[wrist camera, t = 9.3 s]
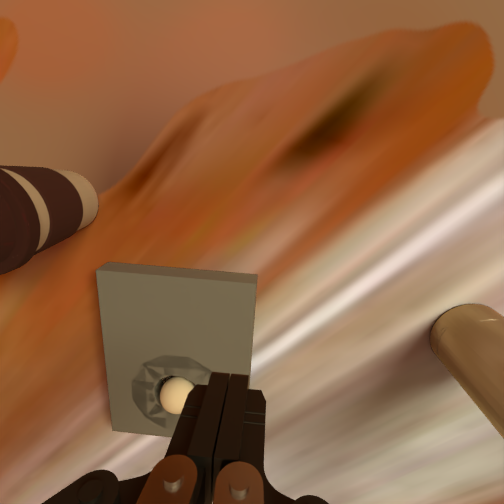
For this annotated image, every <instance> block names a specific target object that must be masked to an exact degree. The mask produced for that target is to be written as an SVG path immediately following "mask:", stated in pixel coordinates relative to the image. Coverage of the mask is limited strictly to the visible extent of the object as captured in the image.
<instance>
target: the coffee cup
mask: <svg viewBox="0 0 504 504" xmlns="http://www.w3.org/2000/svg"><path fill="white" fill-rule="evenodd" d="M97 211H98V198H97V194H96V192H95V190H94V188H93V186H92V185H91V184H90V183H89V181H88V180H87V179H85V178H84V177H83V176H81V175H80V174H77V173H75V172H72V171H68V170H52V169H48V168H43V167H23V166H0V275H1V274H5V273H7V272H10V271H12V270H14V269H17V268H19V267H21V266H22V265H24V264H25V263H27V262H28V261H29V260H30V259H31V258H32V257H33V255H35V254H37V253H39V252H41V251H43V250H45V249H47V248H49V247H51V246H53V245H55V244H57V243H59V242H60V241H62V240H64V239H66V238H68V237H70V236H71V235H73V234H74V233H75V232H76V231H78V230H80V229H82V228H84V227H85V226H87V225H89V224H90V223H91V222H92V221H93V220H94V218H95V217H96V215H97Z"/></svg>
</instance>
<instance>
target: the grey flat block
mask: <svg viewBox="0 0 504 504" xmlns="http://www.w3.org/2000/svg"><path fill="white" fill-rule="evenodd" d="M96 277H97V287H98V296H99V306H100V316H101V325H102V335H103V344H104V354H105V364H106V373H107V383H108V392H109V402H110V412H111V421H112V431H119V432H128V433H137V434H146V435H155V436H164V437H172V436H173V433H174V431H175V428H176V425H177V423H178V420H179V417H180V414H172V413H169V412H168V411H166V410H165V409H164V408H163V406H162V404H161V401H160V392H161V389H162V387H163V385H164V384H163V383H162V378H165V377H167V376H170V375H173V376H182V377H185V378H186V379H188V380H190V381H191V382H193V383H194V384H195V386H196V385H197V384H201V385H208V383H209V379H210V376H211V373H212V372H222V373H230V376H231V373H233V374H243V375H249V385H250V371H251V357H252V344H253V330H254V316H255V303H256V289H257V274H245V273H233V272H221V271H210V270H198V269H186V268H174V267H162V266H150V265H139V264H127V263H115V262H108V263H106V264H104V265H103V266H101V267H100V268H98V269H97V270H96ZM248 389H249V387H248Z"/></svg>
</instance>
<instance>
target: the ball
mask: <svg viewBox="0 0 504 504" xmlns="http://www.w3.org/2000/svg"><path fill="white" fill-rule="evenodd" d="M194 387H195V385H194V383H193V382H191V381H190V380H188V379H186V378H185V377H182V376H174V377H172V378H170V379H168V380H167V381H166V382H165V384H164V385H163V387H162V389H161V392H160V401H161V404H162V406H163V408H164V409H165V410H166V411H168V412H169V413H172V414H181V412H182V409H183V407H184V404H185V401H186V398H187V395H188V393H189V392H190V391H191V390H192V389H193V388H194Z"/></svg>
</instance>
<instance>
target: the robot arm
mask: <svg viewBox="0 0 504 504" xmlns="http://www.w3.org/2000/svg"><path fill="white" fill-rule="evenodd" d="M430 345H431V347H432V350H433V351H434V353H435V354H436V355H437V357H438V358H439V359H440V360H441V362H442V363H443V364H444V365H445V367H446V368H447V369H448V370H449V372H450V373H451V374H452V375H453V377H454V378H455V379H456V380H457V382H458V383H459V384H460V385H461V387H462V388H463V389H464V390H465V391H466V393H467V394H468V395H469V396H470V398H471V399H472V400H473V401H474V403H475V404H476V405H477V406H478V408H479V409H480V410H481V411H482V412H483V414H484V415H485V416H486V417H487V419H488V420H489V421H490V422H491V424H492V425H493V426H494V427H495V429H496V430H497V431H498V432H499V433H500V435H501V436H502V437H503V438H504V317H503V316H502V315H501V314H499V313H498V312H496V311H495V310H493V309H491V308H490V307H488V306H484V305H480V304H465V305H461V306H458V307H455V308H453V309H451V310H449V311H447V312H446V313H444V314H443V315H442V316H441V317H440V318H439V319H438V320H437V321H436V323H435V324H434V326H433V328H432V330H431V334H430ZM248 387H249V375H243V374H233V373H231V376H230V373H222V372H212V373H211V376H210V379H209V383H208V385H201V384H197V385H196V386H195V387H194V388H193V389H192V390H191V391H190V392H189V393H188V395H187V398H186V401H185V404H184V407H183V409H182V412H181V414H180V417H179V420H178V423H177V425H176V428H175V431H174V433H173V436H172V439H171V442H170V444H169V447H168V450H167V452H166V455H165V457H164V459H162V460H161V461H159V462H158V463H157V464H156V465H155V467H154V468H153V469H152V471H151V472H149V473H147V474H145V475H143V476H140V477H137V478H132V479H128V480H123V481H119V482H118V479H117V477H116V476H115V474H114V473H112V472H110V471H108V470H96V471H93V472H90V473H88V474H85V475H84V476H82V477H81V478H79V479H78V480H76V481H75V482H73V483H72V484H70V485H69V486H67V487H66V488H64V489H63V490H61V491H60V492H58V493H57V494H55V495H54V496H52V497H51V498H49V499H48V500H46V501H45V502H43V503H42V504H212V502H213V504H329V503H327V502H326V501H325V500H323V499H322V498H319V497H317V496H313V495H306V496H302V497H300V498H298V499H297V500H293V499H291V498H289V497H287V496H285V495H283V494H281V493H280V492H278V491H277V490H275V489H274V488H273V487H272V486H271V484H270V483H269V482H268V480H267V478H266V475H265V473H264V439H265V413H266V400H265V398H264V396H263V394H262V391H261V390H252V389H248Z"/></svg>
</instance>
